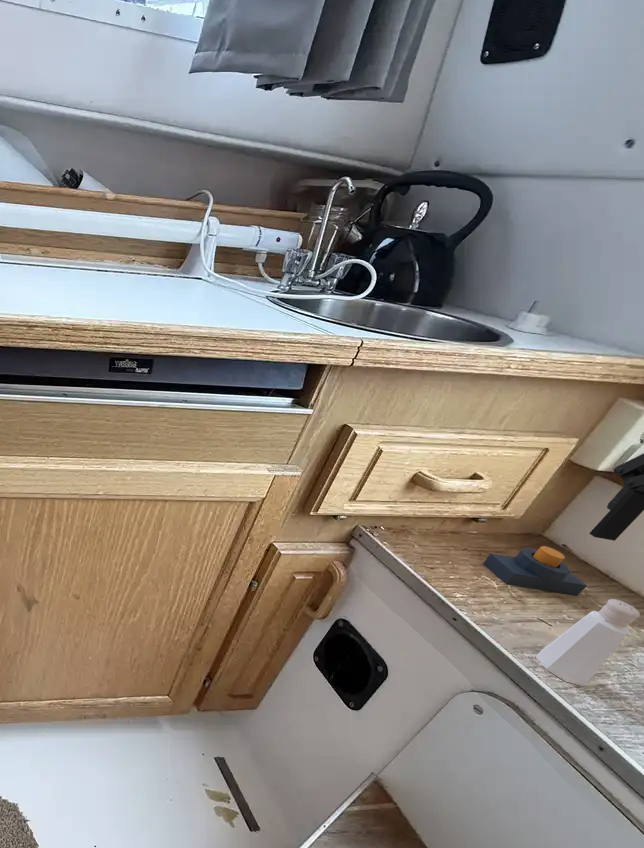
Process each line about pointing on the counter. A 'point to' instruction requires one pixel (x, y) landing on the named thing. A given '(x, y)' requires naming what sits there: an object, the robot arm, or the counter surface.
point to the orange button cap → (549, 556)
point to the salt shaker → (588, 643)
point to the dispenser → (533, 573)
